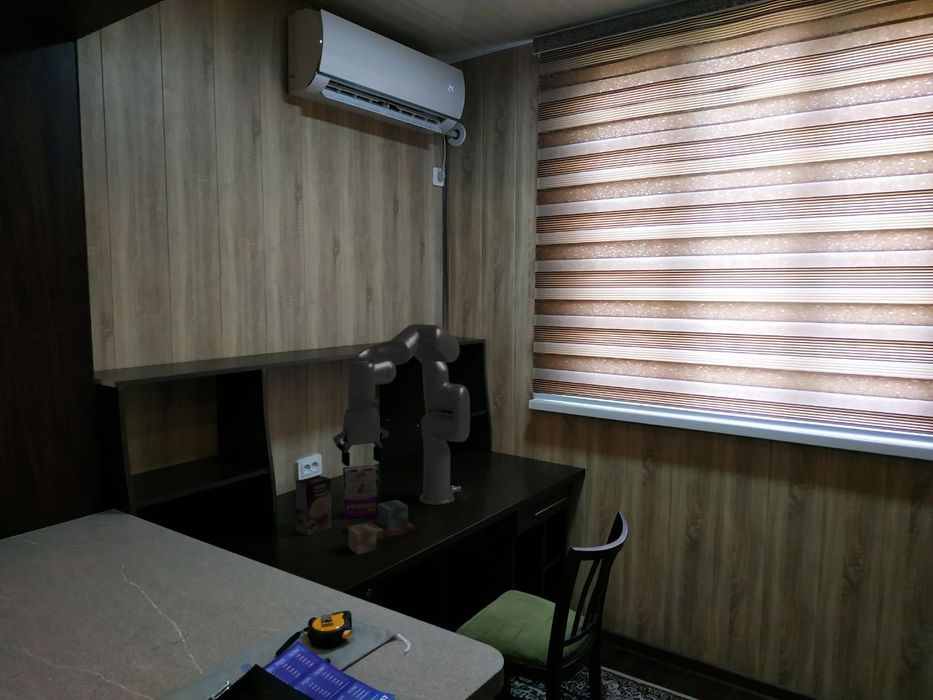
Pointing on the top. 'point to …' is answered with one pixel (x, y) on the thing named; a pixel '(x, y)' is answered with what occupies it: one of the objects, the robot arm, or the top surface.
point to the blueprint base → (387, 531)
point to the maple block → (362, 539)
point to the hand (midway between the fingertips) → (361, 463)
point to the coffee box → (313, 505)
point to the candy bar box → (360, 491)
